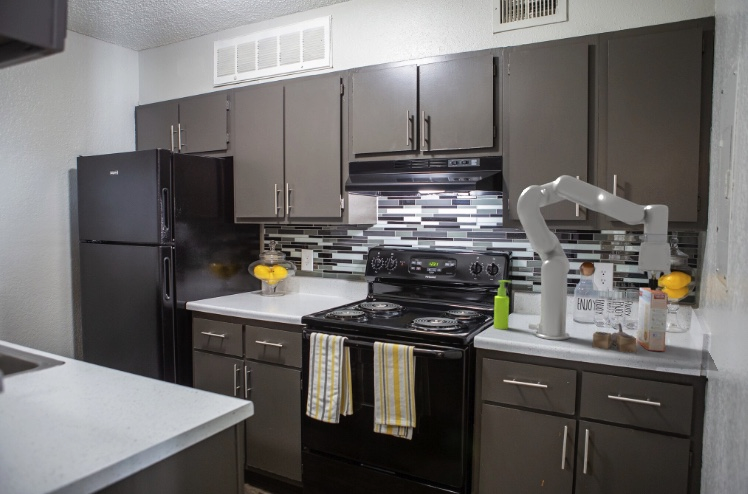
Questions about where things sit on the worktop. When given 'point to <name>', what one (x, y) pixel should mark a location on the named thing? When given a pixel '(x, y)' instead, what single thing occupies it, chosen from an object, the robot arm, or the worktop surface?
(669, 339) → the worktop surface
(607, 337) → the marked cube
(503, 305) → the soap dispenser
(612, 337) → the garlic bulb
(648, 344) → the cracker box
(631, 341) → the marked cube
